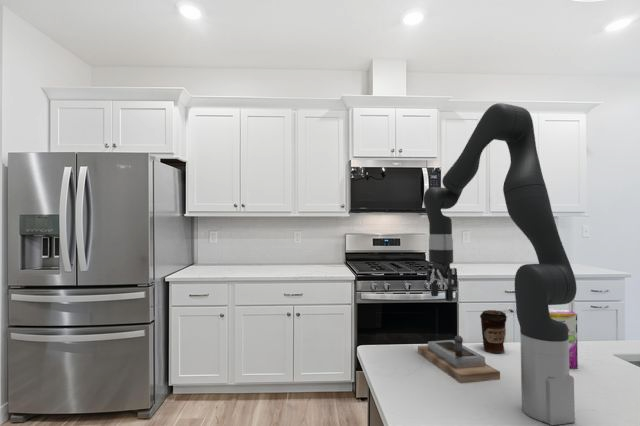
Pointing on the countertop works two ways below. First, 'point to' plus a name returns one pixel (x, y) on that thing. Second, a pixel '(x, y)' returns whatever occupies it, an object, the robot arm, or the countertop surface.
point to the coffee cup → (493, 330)
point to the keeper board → (464, 373)
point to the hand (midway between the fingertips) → (441, 298)
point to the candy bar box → (571, 323)
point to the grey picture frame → (467, 361)
